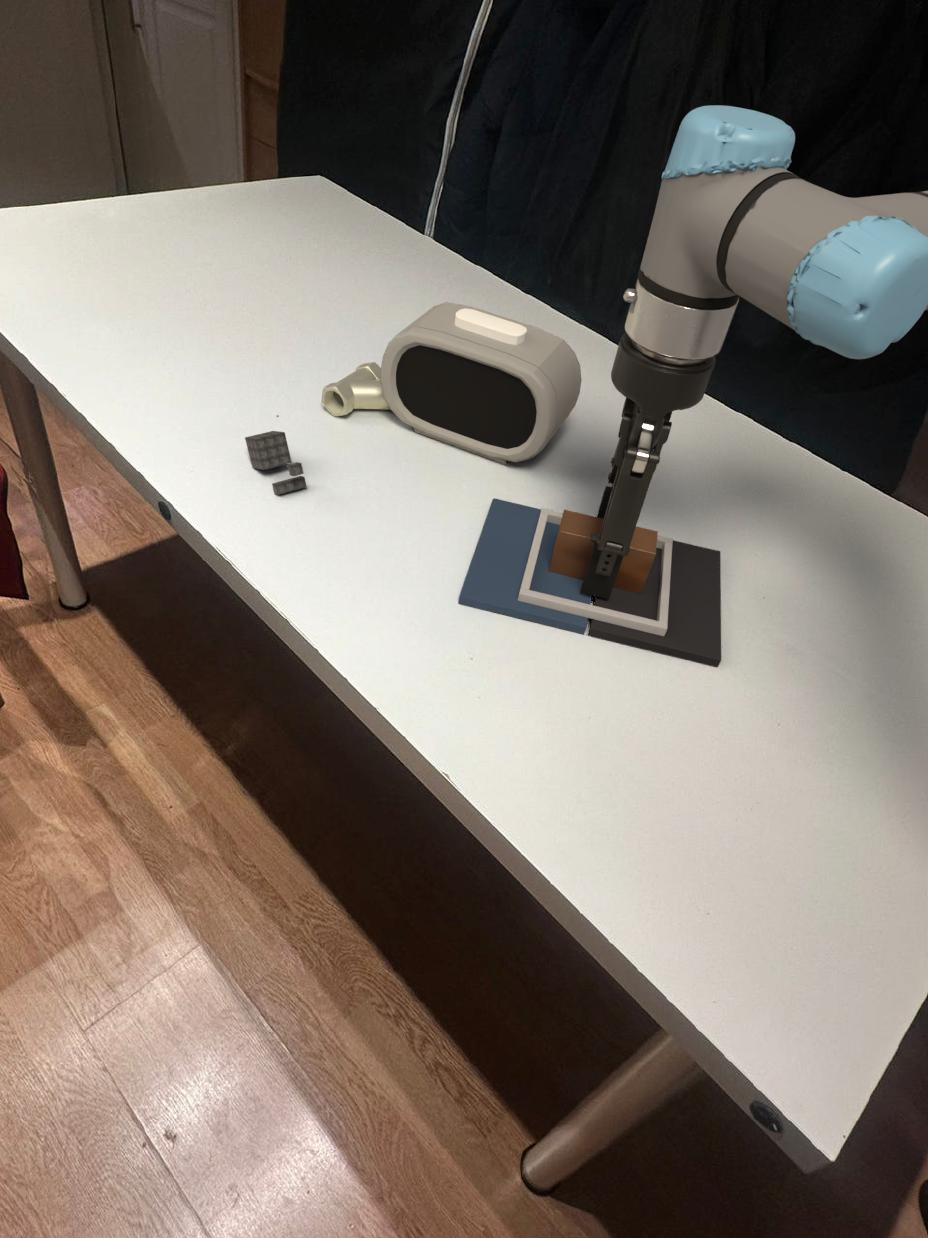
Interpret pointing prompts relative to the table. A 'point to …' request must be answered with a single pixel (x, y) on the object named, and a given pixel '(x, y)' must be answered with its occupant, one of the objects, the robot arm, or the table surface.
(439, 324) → the alarm clock
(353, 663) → the table surface
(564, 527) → the brown rectangular block
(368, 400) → the pipe fitting
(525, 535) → the back pads
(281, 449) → the building blocks
